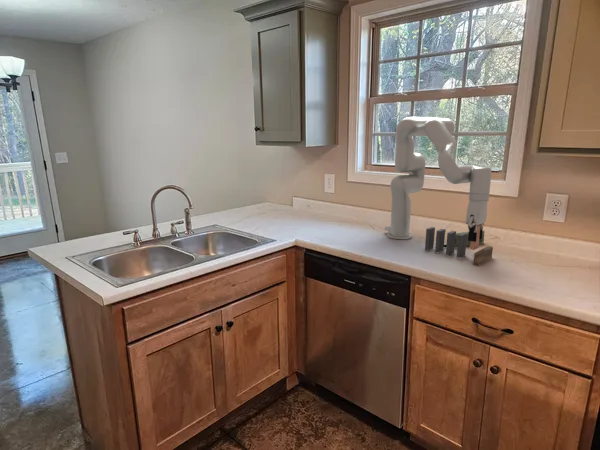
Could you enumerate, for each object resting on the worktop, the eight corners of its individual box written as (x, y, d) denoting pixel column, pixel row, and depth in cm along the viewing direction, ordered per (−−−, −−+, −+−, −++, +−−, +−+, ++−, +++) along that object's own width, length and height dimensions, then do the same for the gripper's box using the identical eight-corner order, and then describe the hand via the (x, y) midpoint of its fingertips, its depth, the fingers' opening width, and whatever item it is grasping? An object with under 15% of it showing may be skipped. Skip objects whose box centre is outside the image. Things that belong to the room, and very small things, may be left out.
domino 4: (456, 257, 170) (458, 235, 167) (461, 254, 173) (463, 232, 171) (460, 258, 168) (462, 235, 166) (465, 255, 172) (467, 233, 169)
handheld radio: (484, 244, 188) (442, 250, 180) (479, 243, 192) (437, 248, 183) (485, 231, 187) (443, 236, 179) (480, 229, 190) (438, 234, 182)
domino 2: (435, 252, 177) (436, 230, 174) (440, 249, 180) (442, 228, 178) (438, 253, 176) (440, 231, 173) (443, 250, 179) (445, 229, 176)
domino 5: (469, 249, 165) (471, 226, 162) (474, 246, 168) (476, 224, 166) (473, 249, 164) (475, 226, 161) (478, 247, 167) (480, 224, 165)
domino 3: (445, 254, 173) (447, 232, 171) (450, 252, 176) (452, 230, 174) (449, 255, 172) (450, 233, 170) (454, 253, 175) (456, 231, 173)
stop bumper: (473, 264, 160) (474, 253, 159) (486, 256, 170) (488, 245, 168) (478, 265, 159) (479, 254, 158) (491, 258, 168) (492, 246, 167)
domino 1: (424, 249, 180) (426, 228, 178) (430, 247, 183) (431, 226, 181) (428, 250, 179) (429, 229, 177) (433, 248, 182) (435, 227, 180)
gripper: (478, 193, 169) (474, 234, 173) (460, 198, 158) (457, 242, 162) (496, 195, 164) (492, 237, 168) (479, 200, 152) (475, 245, 157)
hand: (474, 239), depth 165 cm, fingers closed on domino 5, 4 cm apart
